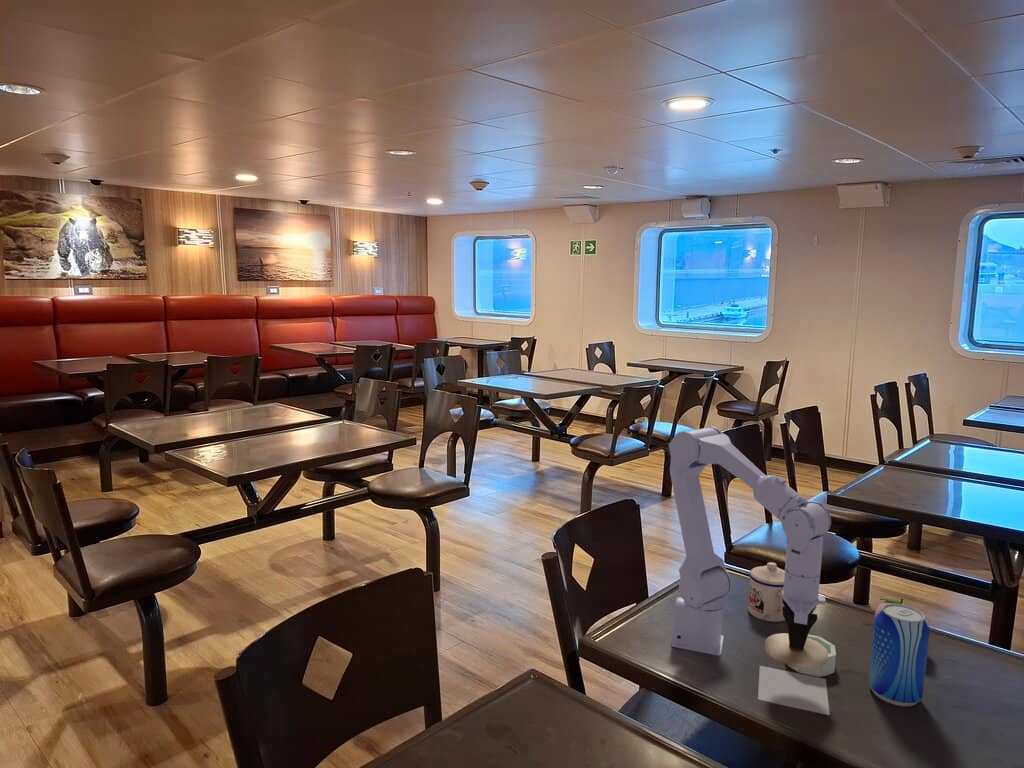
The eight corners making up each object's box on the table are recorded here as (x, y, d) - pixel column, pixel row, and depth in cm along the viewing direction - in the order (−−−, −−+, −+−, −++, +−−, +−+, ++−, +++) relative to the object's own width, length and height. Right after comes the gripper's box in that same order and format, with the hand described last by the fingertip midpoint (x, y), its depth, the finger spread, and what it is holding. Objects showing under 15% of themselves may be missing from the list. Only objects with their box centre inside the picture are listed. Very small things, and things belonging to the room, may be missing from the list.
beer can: (929, 713, 118) (939, 626, 116) (876, 706, 120) (885, 620, 117) (911, 685, 126) (920, 603, 124) (862, 679, 128) (870, 598, 125)
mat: (757, 701, 121) (757, 699, 121) (759, 667, 131) (759, 665, 131) (829, 717, 117) (829, 714, 117) (825, 681, 127) (825, 679, 127)
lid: (764, 660, 120) (766, 635, 119) (765, 633, 129) (767, 609, 129) (829, 673, 116) (831, 647, 115) (825, 643, 126) (828, 619, 125)
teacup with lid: (740, 604, 157) (743, 555, 155) (778, 603, 158) (781, 554, 156) (764, 630, 145) (768, 578, 144) (805, 629, 146) (809, 577, 144)
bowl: (784, 671, 130) (785, 651, 129) (784, 648, 138) (785, 630, 138) (835, 682, 127) (837, 661, 126) (832, 658, 135) (833, 639, 134)
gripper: (830, 592, 112) (823, 669, 114) (825, 559, 126) (818, 628, 128) (783, 585, 115) (777, 660, 117) (783, 553, 128) (778, 621, 130)
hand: (796, 643), depth 123 cm, fingers closed on lid, 2 cm apart
